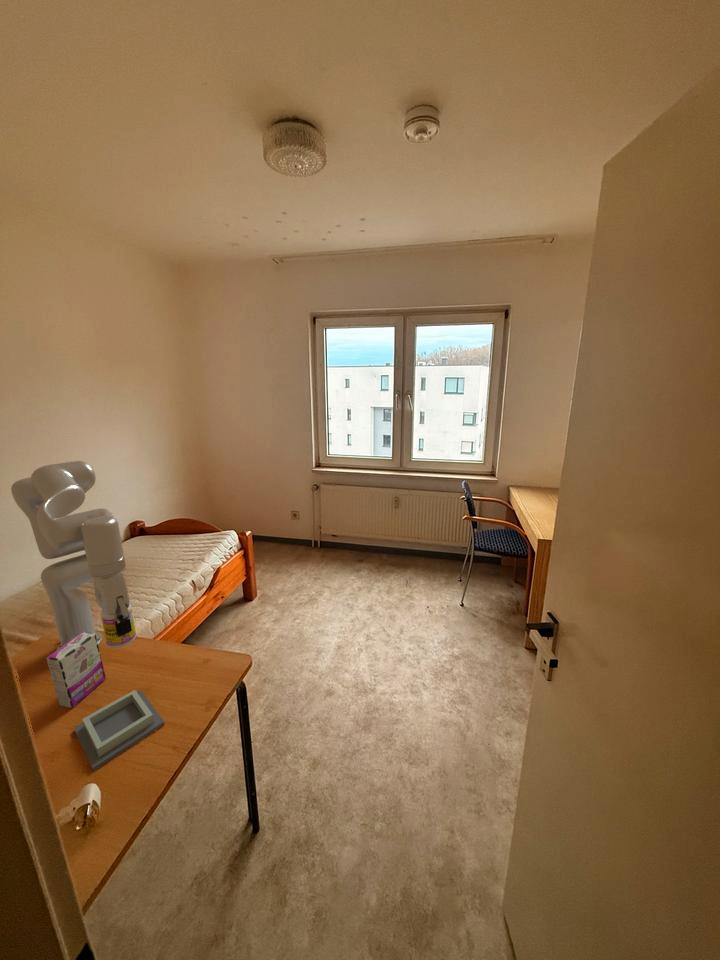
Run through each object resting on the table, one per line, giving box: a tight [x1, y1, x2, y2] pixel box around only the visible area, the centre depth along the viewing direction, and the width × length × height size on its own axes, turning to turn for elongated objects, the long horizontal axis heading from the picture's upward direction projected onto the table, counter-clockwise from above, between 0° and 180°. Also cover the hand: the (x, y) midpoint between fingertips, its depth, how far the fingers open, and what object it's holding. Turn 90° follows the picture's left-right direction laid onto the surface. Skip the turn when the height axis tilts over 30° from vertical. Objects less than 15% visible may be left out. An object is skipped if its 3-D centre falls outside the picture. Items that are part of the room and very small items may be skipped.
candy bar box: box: [45, 632, 107, 709], centre depth 106 cm, size 11×5×16 cm, turn 168°
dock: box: [73, 689, 165, 772], centre depth 96 cm, size 16×16×4 cm
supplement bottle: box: [100, 603, 137, 649], centre depth 96 cm, size 7×7×13 cm
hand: (119, 627), depth 96 cm, fingers closed on supplement bottle, 6 cm apart
